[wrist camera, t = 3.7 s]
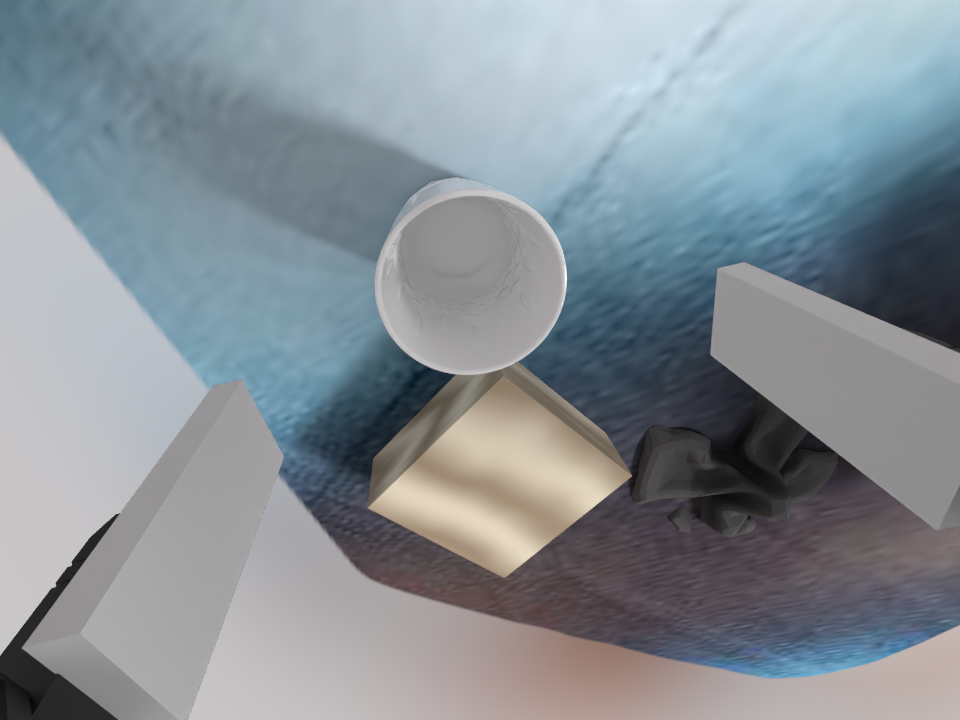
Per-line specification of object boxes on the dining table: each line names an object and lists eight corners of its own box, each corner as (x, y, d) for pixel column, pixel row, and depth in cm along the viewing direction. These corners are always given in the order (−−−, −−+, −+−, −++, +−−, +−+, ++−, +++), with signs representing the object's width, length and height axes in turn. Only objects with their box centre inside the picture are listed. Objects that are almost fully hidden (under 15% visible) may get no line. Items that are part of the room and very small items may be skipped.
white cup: (403, 308, 28) (399, 390, 20) (372, 178, 25) (349, 208, 16) (523, 286, 29) (571, 357, 20) (510, 154, 25) (562, 172, 16)
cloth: (594, 453, 37) (625, 509, 32) (801, 331, 34) (873, 370, 29) (685, 577, 48) (720, 635, 42) (851, 491, 45) (911, 542, 39)
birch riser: (490, 339, 30) (503, 375, 26) (605, 432, 36) (632, 475, 31) (373, 458, 34) (367, 508, 29) (494, 527, 39) (504, 578, 35)
